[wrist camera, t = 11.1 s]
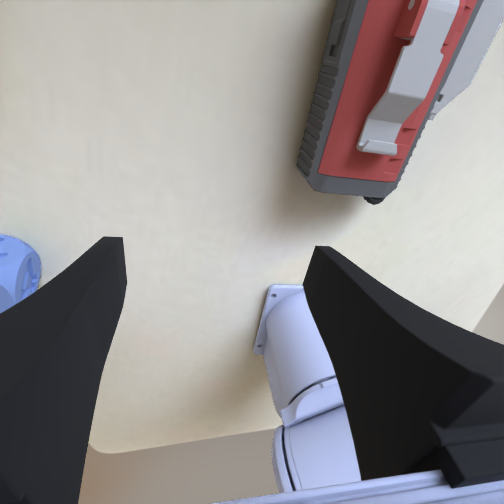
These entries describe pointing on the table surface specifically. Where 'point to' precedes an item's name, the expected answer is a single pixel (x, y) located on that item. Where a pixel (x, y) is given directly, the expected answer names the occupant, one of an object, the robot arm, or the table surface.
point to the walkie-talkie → (388, 86)
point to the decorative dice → (17, 271)
